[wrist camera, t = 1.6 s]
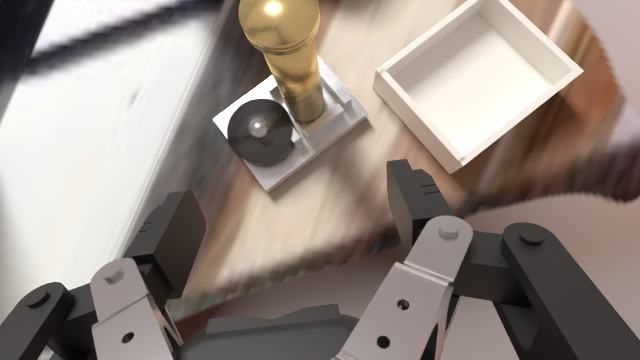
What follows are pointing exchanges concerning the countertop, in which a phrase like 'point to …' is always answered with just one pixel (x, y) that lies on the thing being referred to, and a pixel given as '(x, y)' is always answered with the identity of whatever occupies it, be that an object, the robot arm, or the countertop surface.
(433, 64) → the tray
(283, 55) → the gold mushroom peg
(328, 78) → the tensioner plate
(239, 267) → the countertop surface
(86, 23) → the countertop surface
